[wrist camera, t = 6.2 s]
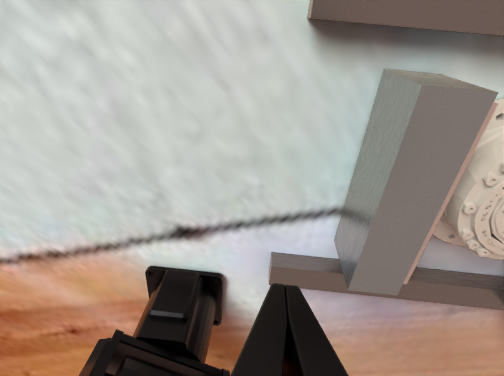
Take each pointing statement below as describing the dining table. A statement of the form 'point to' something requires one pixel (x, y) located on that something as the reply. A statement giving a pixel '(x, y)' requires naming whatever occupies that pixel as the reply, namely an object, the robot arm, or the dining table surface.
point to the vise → (422, 280)
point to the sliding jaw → (407, 174)
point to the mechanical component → (479, 196)
